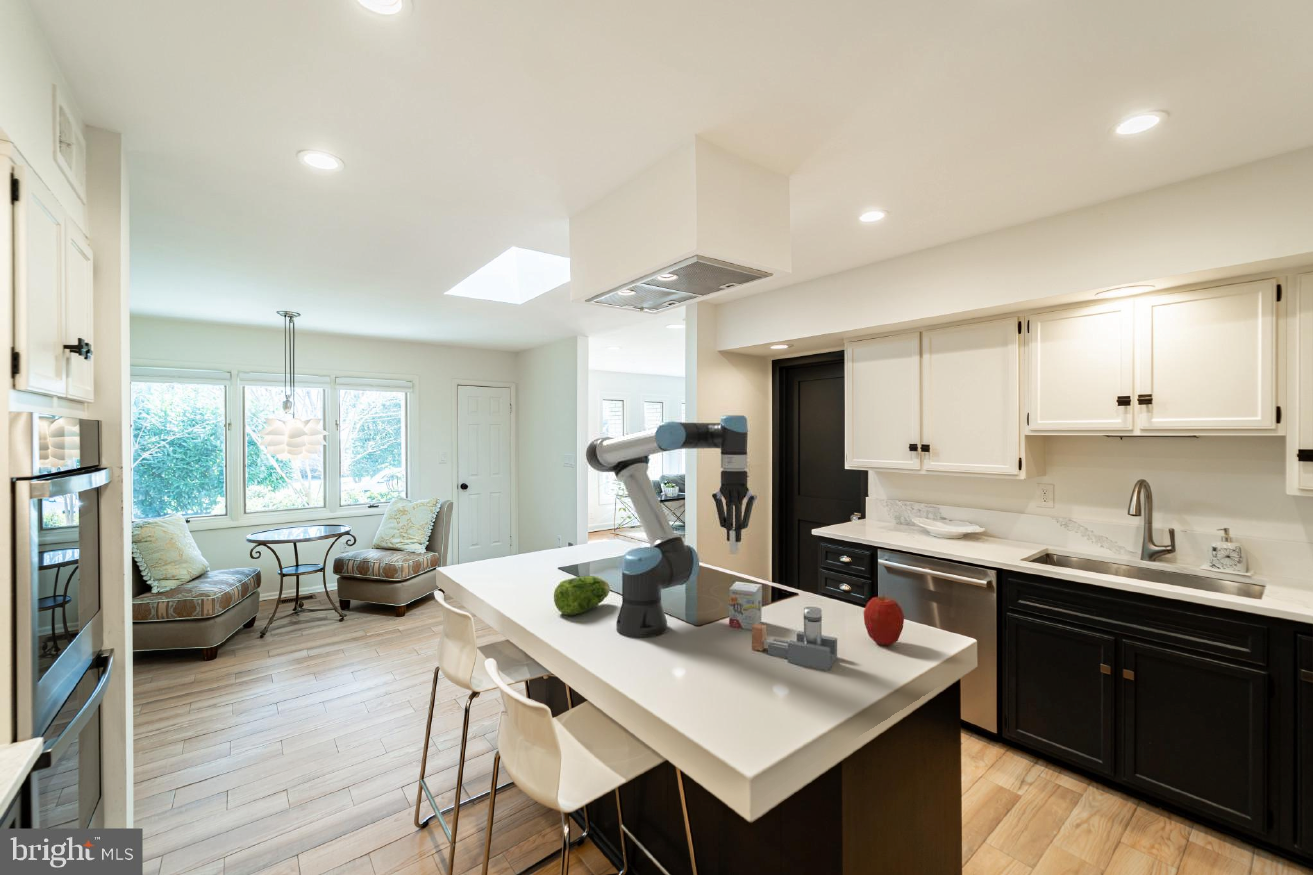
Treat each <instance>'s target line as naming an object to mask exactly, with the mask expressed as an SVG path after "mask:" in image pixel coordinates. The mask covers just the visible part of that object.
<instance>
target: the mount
mask: <svg viewBox="0 0 1313 875" xmlns="http://www.w3.org/2000/svg"><path fill="white" fill-rule="evenodd" d="M772 641H777V642H782V643H787V644H788V647H786V646H781V645H776V644H771V643H770V644H768V648H767V651H768V652H767V655H768V656H773V657H778V658H781V659H782V658H783V659H787V663H788V664H793V665H797V666H798V665H799V666H802V667H805V668H806V667H808V668H812V669H817V670H821V671H826V672H828V671H829V670H830V669H831V667H832V666H833V664H834V663H835V661H836V660H837V658H838V637H834V636H830V635H823V634H822V645H821V646H819V645H813V644H808V643H804V631H801V630H800V631H797V633H796V640H785V639H777V638H773V640H772Z"/></svg>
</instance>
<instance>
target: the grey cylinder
mask: <svg viewBox="0 0 1313 875" xmlns="http://www.w3.org/2000/svg"><path fill="white" fill-rule="evenodd" d="M822 612H823V611H822V609H821V608H820V607H817V606H805V607H803V632H804V643H808V644H813V645H819V646H821V645H822V635H823V633H822V630H823V629H822V625H823V624H822V620H823V619H822V618H823V615H822Z"/></svg>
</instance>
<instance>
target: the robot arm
mask: <svg viewBox="0 0 1313 875" xmlns="http://www.w3.org/2000/svg"><path fill="white" fill-rule="evenodd" d="M748 433H749V428H748V419H747V417H746V416H745V415H741V414H740V415H739V414H737V415H736V414H734V415H733V414H731V415H722V416H721V417H720V421H719V422H685V421H684V422H683V421H682V422H681V421H665V422H661V423H660V424H659V425H658V426H657V427H652V428H648V429H643V430H642V431H637V432H632V433H629V434H626V435H622V436H617V437H611V436H610V437H609V436H605V437H599V438H595V439H594V440H592V441H591V442H590V443H589V444H588V446H587V448H586V452H585V457H586V461H587V463H588V464H589V466H590V467H591V468H593V470H596V471H598V472H601V473H614V475H615V477H616V479H617V481H618V482H620V483H623V485H624V487H625V489H626V491H627V494H628V496H629V498H630V500H631V503H632V505H633V508H634V510H635V513H636V515H637V518H638V520H639V522H640V524H641V526H642V529H643V532H644V533H645V536H646V538H647V540H648V543H649V546H644V547H636V548H632V549H630V550H628V551H626V552H625V553H624V554H623V557H622V562H621V564H622V565H621V575H622V576H621V582H622V583H621V584H622V586H621V589H622V590H621V592H622V593H621V598H622V599H621V602H622V603H621V606H620V610H619V612H618V615H617V619H616V622H615V623H616V624H615V625H616V626H615V628H616V629H615V630H616V632H617V633H619V634H620V635H623V636H625V637H632V638H650V637H656V636H660V635H663V634H664V633H666V632H667V630H668V619H667V617H666V613H665V610H664V607H663V604H662V590H665V589H668V588H669V589H670V588H672V587H677V586H683V585H685V584H687V583H690V582H692V581H693V580H694V579H695V578H696V577H697V575H698V572H699V567H700V560H699V555H698V552H697V551H696V550H695V548H694V547H693V546H691V545H689V544H685V543H684V541H683V538H682V537H681V535H678V534H675V532H674V529H673V527H672V525H671V523H670V521H669V518H668V516H667V515H666V512H665V509H664V507H663V505H662V503H661V501H660V499H659V497H658V495H657V493H656V490H655V488H654V485H653V483H652V481H651V478H650V476H649V474H648V470H649V468H650V467H649V464H650V460H651V458H650V456H651V455H655V454H660V453H663V452H664V453H665V452H671V451H675V450H682V449H683V450H689V449H692V450H693V449H695V450H696V449H702V450H704V449H720V468H721V471H720V487H719V490H718V491H717V492H715V493H712V494H711V497H712V499H713V500H714V502H715V503H714V504H715V508H716V513H717V516H718V522H719V526H720V527H721V528H724V529H725V530H726V541H727V542H729V555H736V554H738V553H739V543H740V542H742V530H745V529H747V528H748V527H749V523H750V519H751V515H752V510H753V506H754V503H755V501H756V500H757V498H758V497H757V495H756V494H753V493H751V491H750V489H749V487H748V475H749V474H748V470H747V469H748V467H749V466H748V438H749V437H748V436H749V435H748ZM722 498H723V499H724V501H725V506H724V501H723V499H722ZM745 499H746V502H745V506H744V510H743V505H744V504H743V502H744V500H745Z"/></svg>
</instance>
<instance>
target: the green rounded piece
mask: <svg viewBox="0 0 1313 875" xmlns="http://www.w3.org/2000/svg"><path fill="white" fill-rule="evenodd" d="M610 589H611V587H610V585H609V583H608V582H607V581H606V579H602V578H601V577H598V576H595V575H585V576H579V577H578V576H577V577H572V578H568V579H565V580H562V581H560V582H559V584H557V586H556V587H555V588H554V592H553V602H554V605H555V607H556V609H557V611H558V612H560V613H561V614H562V615H565V616H574V615H578V614H582V613H584V612H586V611H589V610H591V609H593V608H595V607H596V606H598V605H600V604H601V603H603V601H604V600H605V599H606V598H607V597H608V596H609V594H610V591H611V590H610Z"/></svg>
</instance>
